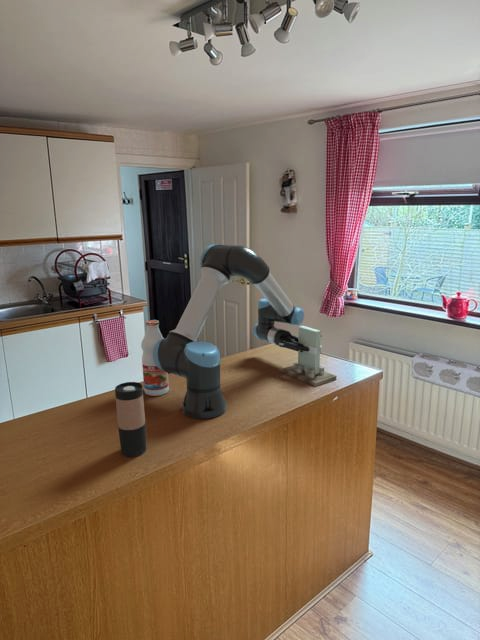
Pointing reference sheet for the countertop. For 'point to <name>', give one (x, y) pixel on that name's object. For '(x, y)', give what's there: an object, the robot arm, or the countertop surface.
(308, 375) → the hinge base
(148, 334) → the fruit juice
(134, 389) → the travel mug
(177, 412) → the countertop surface
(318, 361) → the door
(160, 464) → the countertop surface
